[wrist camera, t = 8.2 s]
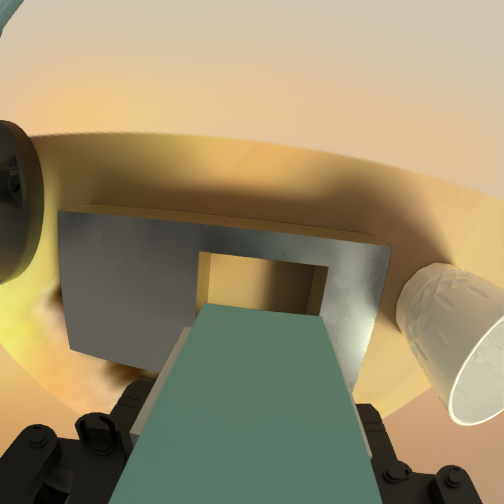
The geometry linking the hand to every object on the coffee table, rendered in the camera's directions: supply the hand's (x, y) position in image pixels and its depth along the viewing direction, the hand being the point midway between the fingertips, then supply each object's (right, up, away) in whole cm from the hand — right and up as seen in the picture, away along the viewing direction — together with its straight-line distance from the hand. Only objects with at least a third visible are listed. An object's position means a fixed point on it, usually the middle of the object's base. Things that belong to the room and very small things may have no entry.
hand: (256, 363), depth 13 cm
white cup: (+14, +1, +8) cm, 16 cm away
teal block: (0, 0, 0) cm, 0 cm away
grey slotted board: (-3, +2, +8) cm, 9 cm away
